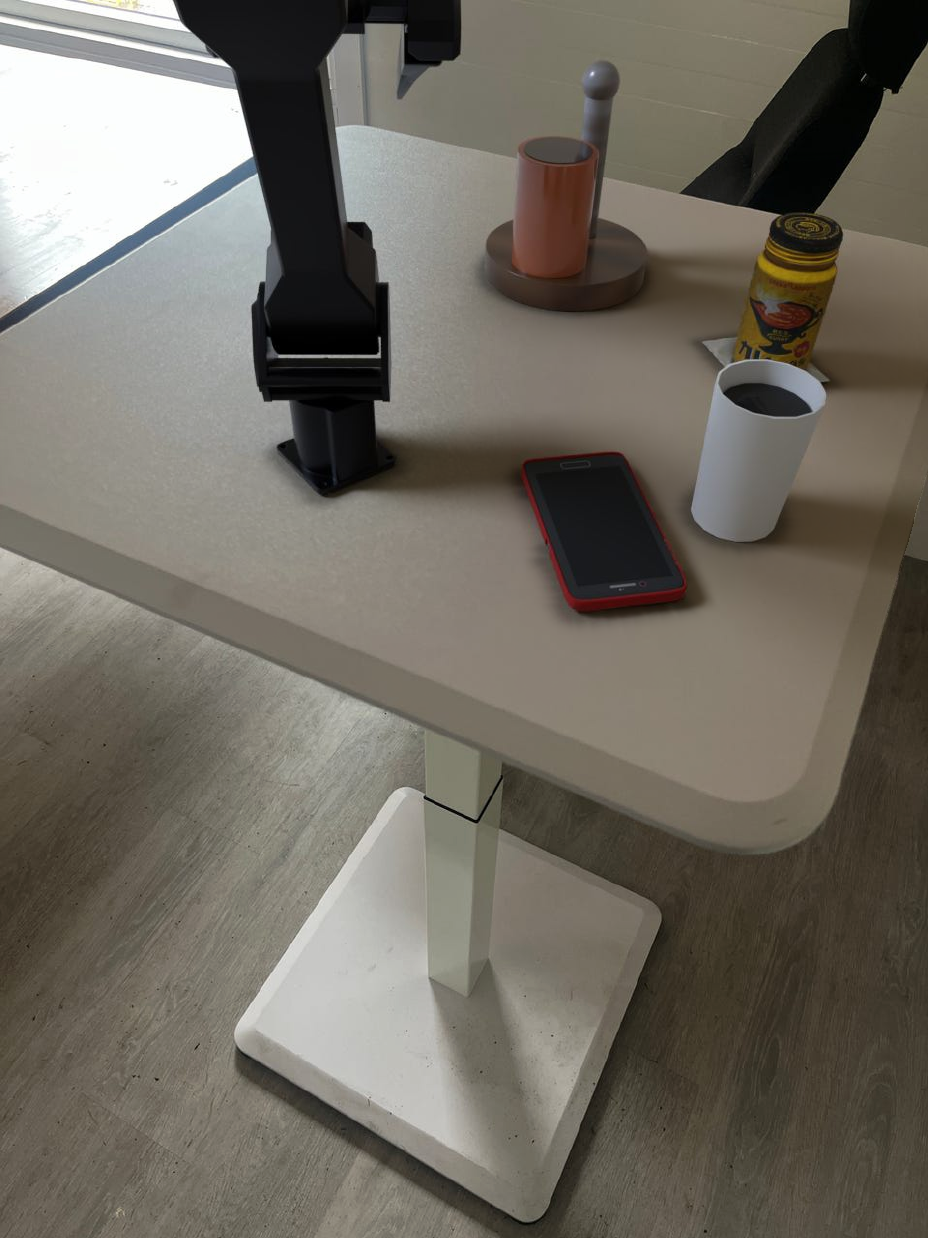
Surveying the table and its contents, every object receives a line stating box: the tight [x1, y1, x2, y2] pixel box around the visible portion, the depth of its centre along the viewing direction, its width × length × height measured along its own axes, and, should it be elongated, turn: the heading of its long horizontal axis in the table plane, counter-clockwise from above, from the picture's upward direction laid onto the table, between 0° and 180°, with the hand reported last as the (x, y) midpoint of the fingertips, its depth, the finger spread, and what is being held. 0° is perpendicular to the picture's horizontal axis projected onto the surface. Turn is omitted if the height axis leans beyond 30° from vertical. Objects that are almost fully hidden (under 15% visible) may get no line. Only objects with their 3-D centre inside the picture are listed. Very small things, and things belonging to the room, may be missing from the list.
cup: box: [511, 135, 599, 278], centre depth 81 cm, size 7×7×10 cm
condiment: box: [701, 211, 844, 383], centre depth 74 cm, size 7×8×12 cm
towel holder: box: [484, 59, 648, 312], centre depth 82 cm, size 15×15×17 cm
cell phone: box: [520, 451, 688, 612], centre depth 62 cm, size 8×15×1 cm, turn 10°
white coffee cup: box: [690, 359, 827, 543], centre depth 61 cm, size 7×7×10 cm
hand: (343, 93), depth 77 cm, fingers open, 9 cm apart
